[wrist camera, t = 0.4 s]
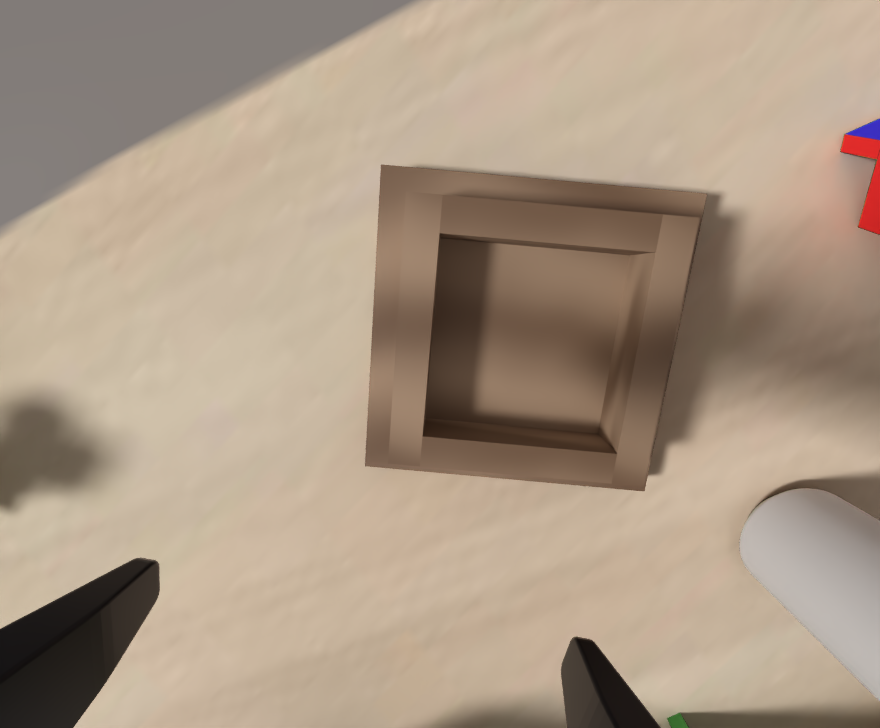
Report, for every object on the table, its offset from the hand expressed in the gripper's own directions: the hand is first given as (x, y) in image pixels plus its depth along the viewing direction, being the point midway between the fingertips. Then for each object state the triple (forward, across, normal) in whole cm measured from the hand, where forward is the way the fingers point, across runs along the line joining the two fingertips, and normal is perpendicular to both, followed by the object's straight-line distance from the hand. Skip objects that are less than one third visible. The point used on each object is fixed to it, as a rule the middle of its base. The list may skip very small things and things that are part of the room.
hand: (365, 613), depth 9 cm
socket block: (+15, -5, -4) cm, 16 cm away
